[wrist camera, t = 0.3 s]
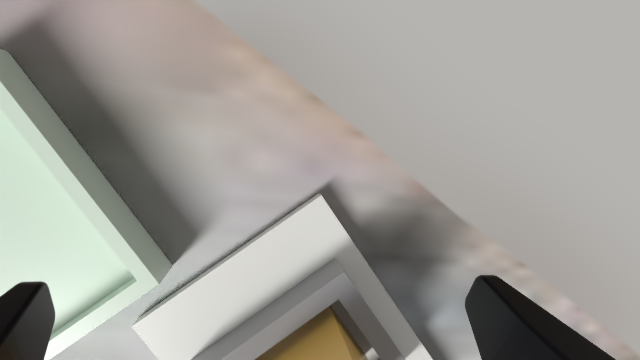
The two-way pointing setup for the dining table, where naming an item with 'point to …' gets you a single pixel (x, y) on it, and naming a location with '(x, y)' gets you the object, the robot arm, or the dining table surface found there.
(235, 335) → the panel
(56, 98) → the dining table surface
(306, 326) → the tan rectangular block
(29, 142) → the parts tray
